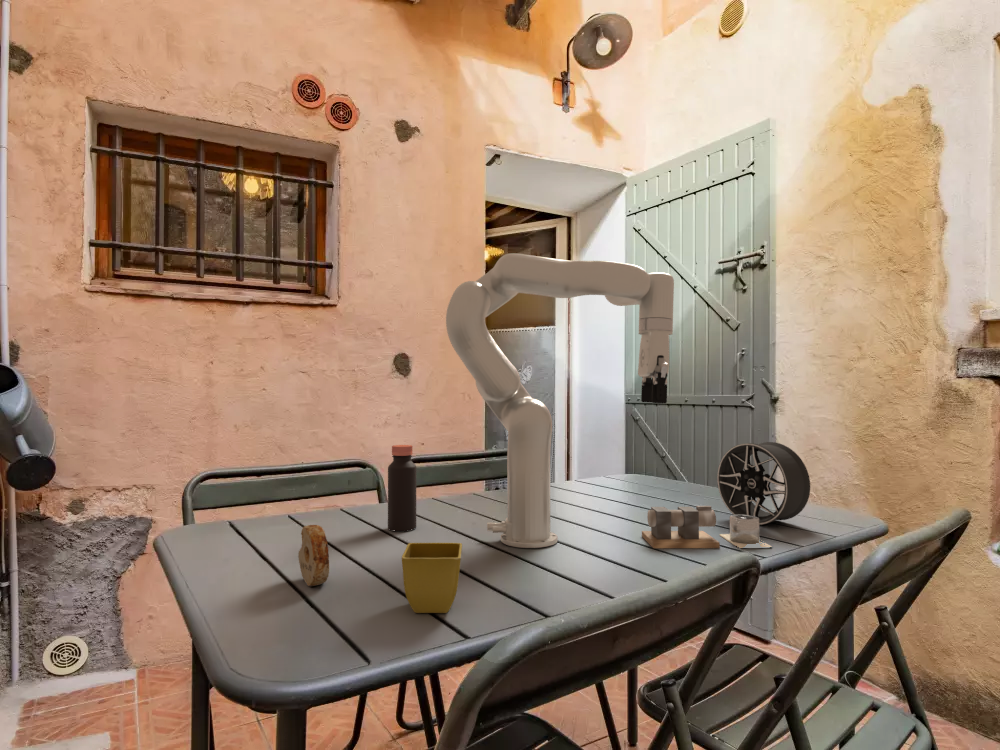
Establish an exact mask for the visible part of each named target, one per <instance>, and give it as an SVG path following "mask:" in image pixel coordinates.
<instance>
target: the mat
mask: <svg viewBox="0 0 1000 750" xmlns="http://www.w3.org/2000/svg"><path fill="white" fill-rule="evenodd" d="M719 536H720V537H721V538H723V539H724V540H726V541H727V542H729V543H730V544H731V545H733V546H735V547H736V546H737V548H738V547H739V548H743V547H745V546H746V545H747V544H742V543H737V542H733V541H731V540H730V533H721V534H720V533H719ZM760 543H762V542H760ZM760 543H759V544H760ZM764 544H765V545H764ZM760 546H761V547H773V546H772V545H770V544H768V543H766V542H765V543H762V544H760ZM739 548H738V549H739Z"/></svg>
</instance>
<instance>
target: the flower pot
mask: <svg viewBox="0 0 1000 750" xmlns="http://www.w3.org/2000/svg"><path fill="white" fill-rule="evenodd" d="M462 551H463V543H461V542H409V543H407V545H406V547H405V550H404V551H403V553H402V556H401V567H402V577H403V578H402V579H403V587H404V588H403V589H404V592H405V593H404V594H405V597H406V599H407V601H408V602H407V603H408V604H409V606H410V608H411V609H412V611H413V612H414V613H416V614H447V613H448V612H450V610H451V607H452V606H453V603H454V601H455V598H456V595H457V592H458V587H459V586H458V585H459V579H460V577H459V576H460V569H461V561H462Z"/></svg>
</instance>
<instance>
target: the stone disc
mask: <svg viewBox="0 0 1000 750" xmlns="http://www.w3.org/2000/svg"><path fill="white" fill-rule="evenodd" d="M300 535H301V548H300V549H299V550H298V553H297V554H298V556H297V557H298V564H299V568H300V573H301V577H302V579H303V580H304V583H305V582H306V583H307V584H306V583H305V584H306V585H307V586H308V587H315V586H319V585H322V584H324V583H326V582H327V580H328V579H329V575H330V555H329V554H330V553H329V545H328V539H327V536H326V532H325V530H324V528H323V526H321V525H318V524H308V525H305V526H303V527H302V528H301V533H300Z"/></svg>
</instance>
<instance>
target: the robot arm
mask: <svg viewBox="0 0 1000 750" xmlns="http://www.w3.org/2000/svg"><path fill="white" fill-rule="evenodd" d="M674 281H675V280H674V277H673V276H672V275H671V274H669V273H666V272H650V273H649V272H647V271H646V270H645V269H644V268H642V267H641V266H638V265H636V264H631V263H624V262H616V261H610V260H609V261H608V260H579V259H578V260H577V259H575V260H574V259H573V260H571V259H570V260H567V259H559V258H552V257H546V256H545V257H544V256H539V255H537V256H536V255H531V254H530V255H529V254H523V253H513V252H512V253H511V252H510V253H506V254H504V255H502V256H500V258H498V260H497V261H496V263H495V264H494V266H493V268H491V269H489V271H487V273H485V274H483V275H482V276H481V277H480V278H478V279H476V280H475V281H474V280H468V281H464V282H463V283H460V284H459V285H458V286H457V287H455V289H454V291H453V293H452V294H451V297H450V300H449V302H448V305H447V308H446V314H445V315H446V316H445V325H446V326H445V327H446V332H447V336H448V339H449V341H450V344H451V345H452V348H453V350H454V351H455V353H456V355H458V357H459V359H460V360H461V362H462V363H463V365H464V367H465V368H466V369H467V371H468V372H469V374H470V375H471V376H472V378H473V379H474V381H475V386H476V389H477V392H478V393H479V395H480V396H481V398H482V399H483V401H484V402H485V403H486V404H487V406H488V407H489V408H490V410H491V412H492V413H493V414H494V415H495V416H496V418H497V419H498V421H500V423H501V425H503V427H504V428H505V430H506V431H507V453H506V456H507V458H506V459H507V460H506V461H507V462H506V465H507V466H506V468H507V470H506V471H507V479H506V480H507V481H506V482H507V485H506V486H507V490H506V491H507V495H506V496H507V499H506V500H507V517H505V520H502V521H501V522H494V521H493V522H488V521H487V523H486V524H487V525H486V526H487V527H486V528H487V532H492V533H493V534H497V533H501V535H500V542H501V543H502V544H504V545H507V546H509V547H514V548H522V549H538V548H546V547H550V546H553V545H555V544H557V542H558V539H559V538H558V534H556V533H554V532H553V531H551V448H552V447H551V446H552V445H551V444H552V436H553V435H552V434H553V419H552V415H551V412H550V410H549V408H548V407H547V406H546V404H544V402H542V401H540V400H539V399H537V398H533V397H532V396H531V394H530V393H529V392H528V391H527V389H526V388H525V386H524V385H523V384H522V382H521V376H520V374H519V371H518V370H517V368H516V366H515V365H514V364H512V362H511V361H510V360H509V358H508V357H507V356H506V355H505V353H504V352H503V351H502V349H501V348H500V347H499V346H498V343H497V342H496V341H495V339H494V338H493V337H492V335H491V333H490V332H489V329H488V327H487V325H486V318H487V317H489V316H490V315H491V314H492V313H494V312H495V311H497V310H498V309H499V308H501V307H502V306H504V305H505V304H507V303H508V302H510V301H511V300H512V299H513V298H514V297H516V296H517V295H518V294H526V295H537V296H544V297H549V298H556V299H557V298H558V299H570V298H571V299H572V298H576V297H583V296H604V298H605V299H606V300H607V302H608V303H610V304H612V305H614V306H620V307H625V306H638V305H639V311H638V335H640V336H641V337H640V344H639V354H638V355H639V356H638V369H637V374H638V376H639V377H640V378H642V379H641V393H640V394H641V397H640V398H641V400H640V401H641V402H642V403H653V404H667V402H668V377H669V372H670V336H672V335H673V331H674V330H673V329H674V325H673V324H674V296H675V294H674V293H675V292H674V289H675V282H674Z"/></svg>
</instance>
